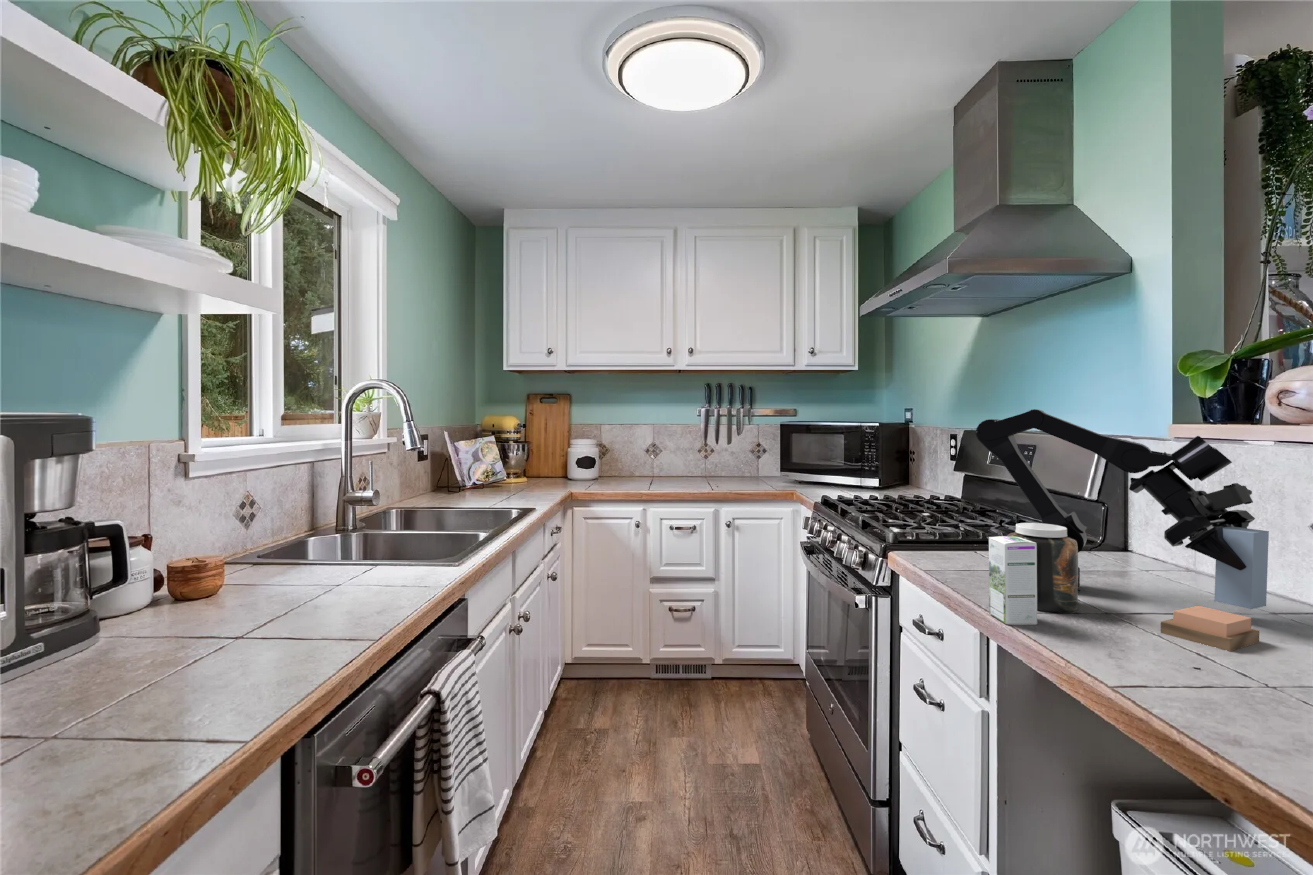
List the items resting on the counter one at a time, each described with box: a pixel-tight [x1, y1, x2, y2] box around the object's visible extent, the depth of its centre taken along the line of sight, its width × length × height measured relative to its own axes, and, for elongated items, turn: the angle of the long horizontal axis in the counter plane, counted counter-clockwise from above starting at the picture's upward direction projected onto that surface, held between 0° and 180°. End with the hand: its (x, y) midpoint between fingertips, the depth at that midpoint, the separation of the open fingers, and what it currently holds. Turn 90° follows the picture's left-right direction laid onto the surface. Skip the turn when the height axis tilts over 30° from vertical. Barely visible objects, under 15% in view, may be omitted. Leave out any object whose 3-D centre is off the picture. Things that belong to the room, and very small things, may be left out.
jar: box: [1006, 522, 1079, 613], centre depth 117 cm, size 12×12×15 cm
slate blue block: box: [1213, 527, 1270, 610], centre depth 106 cm, size 5×5×13 cm
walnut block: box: [1160, 618, 1260, 652], centre depth 98 cm, size 9×9×2 cm
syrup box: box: [988, 535, 1038, 626], centre depth 108 cm, size 6×6×14 cm
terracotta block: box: [1172, 605, 1252, 637], centre depth 98 cm, size 7×7×2 cm
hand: (1251, 567), depth 104 cm, fingers closed on slate blue block, 5 cm apart
